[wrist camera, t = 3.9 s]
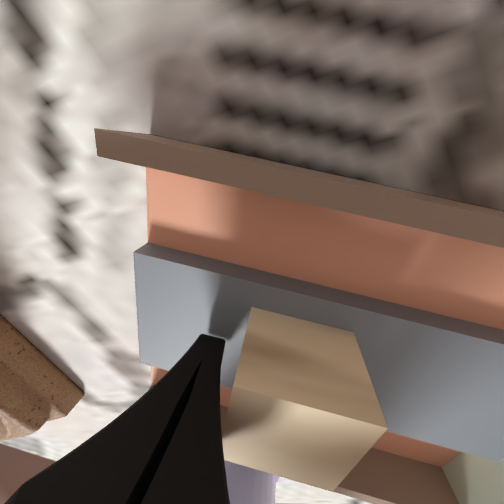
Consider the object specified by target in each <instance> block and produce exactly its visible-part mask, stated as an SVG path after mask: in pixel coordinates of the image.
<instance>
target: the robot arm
mask: <svg viewBox="0 0 504 504" xmlns="http://www.w3.org/2000/svg"><path fill="white" fill-rule="evenodd" d="M225 343H226V341H225V340H224V339H221V338H217V337H214V336H210V335H206V334H200V335H199V337H198V338H197V339H196V341H195V342H194V343H193V345H192V346H191V347H190V348H189V349H188V351H187V352H186V353H185V354H184V355H183V356H182V357H181V359H180V360H179V361H178V362H177V363H176V364H175V365H174V366H173V367H172V368H171V369H170V370H169V371H168V372H167V373H166V374H165V375H164V376H163V377H162V378H161V379H160V380H159V381H158V382H157V383H156V384H155V385H154V386H153V387H152V388H151V389H150V390H149V391H148V392H147V393H145V394H144V395H143V396H142V397H141V398H140V399H139V400H138V401H136V402H135V403H134V404H133V405H132V406H131V407H129V408H128V409H127V410H126V411H124V412H123V413H122V414H121V415H120V416H118V417H117V418H116V419H115V420H113V421H112V422H111V423H110V424H108V425H107V426H106V427H104V428H103V429H102V430H100V431H99V432H98V433H96V434H95V435H93V436H92V437H91V438H89V439H88V440H87V441H85V442H84V443H82V444H81V445H80V446H78V447H77V448H76V449H74V450H73V451H71V452H70V453H68V454H67V455H66V456H64V457H63V458H61V459H60V460H58V461H57V462H55V463H54V464H52V465H51V466H49V467H48V468H46V469H45V470H43V471H42V472H40V473H38V474H37V475H35V476H34V477H33V478H31V479H29V480H28V481H26V482H25V483H24V484H22V485H21V487H20V488H19V489H18V490H17V491H16V492H15V493H14V494H13V495H12V496H11V497H10V498H9V499H8V500H7V502H6V503H5V504H275V485H276V482H277V480H278V479H279V477H280V476H277V475H274V474H270V473H267V472H263V471H260V470H256V469H253V468H250V467H246V466H243V465H239V464H236V463H233V462H229V461H226V460H224V453H223V443H222V430H221V414H220V375H221V364H222V359H223V354H224V348H225Z"/></svg>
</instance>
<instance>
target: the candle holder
mask: <svg viewBox="0 0 504 504" xmlns="http://www.w3.org/2000/svg"><path fill="white" fill-rule="evenodd" d="M83 396H84V394H83V392H82V391H81V390H80V389H79V388H78V387H77V386H76V385H75V384H74V383H73V382H72V381H71V380H70V379H69V378H68V377H67V376H66V375H65V374H64V373H62V372H61V371H60V370H59V369H58V368H57V367H56V366H55V365H54V364H53V363H52V362H51V361H50V360H48V359H47V358H46V357H45V356H44V355H43V354H42V353H41V352H40V351H39V350H38V349H37V348H36V347H34V346H33V345H32V344H31V343H30V342H29V341H28V340H27V339H26V338H25V337H24V336H23V335H22V334H21V333H19V332H18V331H17V330H16V329H15V328H14V327H13V326H12V325H11V324H10V323H9V322H8V321H6V320H5V319H4V318H3V317H2V316H1V315H0V441H2V440H7V439H12V438H17V437H22V436H26V435H29V434H32V433H33V432H35V431H37V430H39V429H40V428H41V426H42V425H43V424H44V423H45V422H46V421H50V420H55V419H58V418H62V417H65V416H67V415H68V413H69V412H70V411H71V410H72V409H73V407H74V406H75V405H76V404H77V403H78V402H79V400H80V399H81V398H82V397H83Z"/></svg>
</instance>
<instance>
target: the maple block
mask: <svg viewBox="0 0 504 504" xmlns="http://www.w3.org/2000/svg"><path fill="white" fill-rule="evenodd" d="M387 429H388V427H387V424H386V422H385V419H384V416H383V413H382V410H381V408H380V405H379V402H378V399H377V396H376V393H375V391H374V388H373V385H372V382H371V379H370V377H369V374H368V371H367V368H366V365H365V363H364V360H363V357H362V354H361V351H360V348H359V346H358V343H357V340H356V337H355V334H354V332H350V331H346V330H342V329H338V328H334V327H330V326H326V325H322V324H318V323H314V322H310V321H306V320H302V319H298V318H294V317H290V316H286V315H282V314H278V313H274V312H270V311H266V310H262V309H258V308H254V307H251V312H250V316H249V320H248V324H247V328H246V333H245V337H244V341H243V345H242V350H241V354H240V358H239V362H238V366H237V371H236V375H235V379H234V383H233V388H232V392H231V396H230V400H229V405H228V409H227V413H226V417H225V422H224V426H223V430H222V443H223V453H224V460H226V461H229V462H233V463H236V464H239V465H243V466H246V467H250V468H253V469H256V470H260V471H263V472H267V473H270V474H274V475H277V476H280V477H284V478H287V479H291V480H294V481H298V482H301V483H304V484H308V485H311V486H315V487H318V488H322V489H325V490H328V491H332V492H333V491H334V490H335V488H336V487H337V486H338V485H339V484H340V483H341V482H342V480H343V479H344V478H345V477H346V476H347V475H348V474H349V472H350V471H351V470H352V469H353V468H354V467H355V465H356V464H357V463H358V462H359V461H360V460H361V459H362V457H363V456H364V455H365V454H366V453H367V452H368V451H369V449H370V448H371V447H372V446H373V445H374V444H375V443H376V441H377V440H378V439H379V438H380V437H381V436H382V434H383V433H384V432H385V431H386V430H387Z"/></svg>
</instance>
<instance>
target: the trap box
mask: <svg viewBox="0 0 504 504" xmlns="http://www.w3.org/2000/svg"><path fill="white" fill-rule="evenodd" d="M94 130H95V138H96V147H97V156H100V157H104V158H109V159H113V160H118V161H122V162H126V163H131V164H135V165H140V166H144V167H146V181H147V222H148V243H147V244H145V245H144V246H142V247H141V248H139V249H138V250H136V251H135V252H133V253H134V270H135V287H136V304H137V321H138V339H139V356H140V363H143V364H147V365H150V366H151V385H152V386H151V387H150V389H151V388H152V387H153V386H154V385H155V384H156V383H157V382H158V381H159V380H160V379H161V378H162V377H163V376H164V375H165V374H166V373H167V372H168V371H169V370H170V369H171V368H172V367H173V366H174V365H175V364H176V363H177V362H178V361H179V360H180V359H181V357H182V356H183V355H184V354H185V353H186V352H187V351H188V349H189V348H190V347H191V346H192V345H193V343H194V342H195V341H196V339H197V338H198V337H199V335H200V334H206V335H210V336H214V337H217V338H221V339H224V340H225V341H226V343H225V348H224V354H223V359H222V364H221V375H220V414H221V430H223V426H224V422H225V417H226V413H227V409H228V405H229V400H230V396H231V392H232V388H233V383H234V379H235V375H236V371H237V366H238V362H239V358H240V354H241V350H242V345H243V341H244V337H245V333H246V328H247V324H248V320H249V316H250V312H251V307H254V308H258V309H262V310H266V311H270V312H274V313H278V314H282V315H286V316H290V317H294V318H298V319H302V320H306V321H310V322H314V323H318V324H322V325H326V326H330V327H334V328H338V329H342V330H346V331H350V332H354V334H355V337H356V340H357V343H358V346H359V348H360V351H361V354H362V357H363V360H364V363H365V365H366V368H367V371H368V374H369V377H370V379H371V382H372V385H373V388H374V391H375V393H376V396H377V399H378V402H379V405H380V408H381V410H382V413H383V416H384V419H385V422H386V424H387V427H388V429H387V430H386V431H385V432H384V433H383V434H382V436H381V437H380V438H379V439H378V440H377V441H376V443H375V444H374V445H373V446H372V447H371V448H370V449H369V451H368V452H367V453H366V454H365V455H364V456H363V457H362V459H361V460H360V461H359V462H358V463H357V464H356V465H355V467H354V468H353V469H352V470H351V471H350V472H349V474H348V475H347V476H346V477H345V478H344V479H343V480H342V482H341V483H340V484H339V485H338V486H337V487H336V488H335V490H334V491H333V492H336V493H340V494H343V495H347V496H350V497H353V498H357V499H360V500H364V501H367V502H370V503H374V504H504V211H500V210H495V209H490V208H486V207H481V206H477V205H472V204H467V203H463V202H458V201H454V200H449V199H444V198H440V197H435V196H431V195H426V194H421V193H417V192H412V191H408V190H403V189H399V188H394V187H389V186H385V185H380V184H376V183H371V182H366V181H362V180H357V179H353V178H348V177H343V176H339V175H334V174H330V173H325V172H320V171H316V170H311V169H307V168H302V167H297V166H293V165H288V164H284V163H279V162H274V161H270V160H265V159H261V158H256V157H251V156H247V155H242V154H238V153H233V152H229V151H224V150H219V149H215V148H210V147H206V146H201V145H196V144H192V143H187V142H183V141H178V140H173V139H169V138H164V137H160V136H155V135H150V134H142V133H133V132H124V131H114V130H105V129H96V128H94ZM150 389H149V390H150Z"/></svg>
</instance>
